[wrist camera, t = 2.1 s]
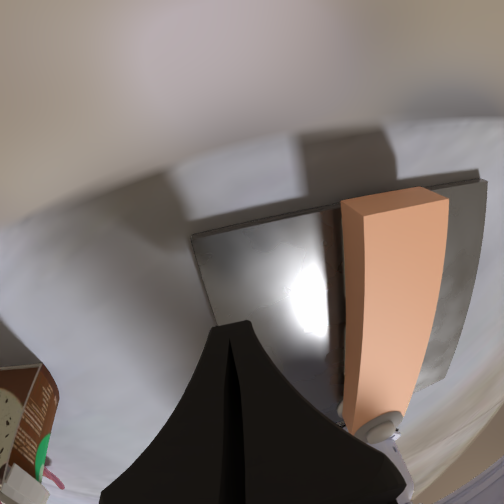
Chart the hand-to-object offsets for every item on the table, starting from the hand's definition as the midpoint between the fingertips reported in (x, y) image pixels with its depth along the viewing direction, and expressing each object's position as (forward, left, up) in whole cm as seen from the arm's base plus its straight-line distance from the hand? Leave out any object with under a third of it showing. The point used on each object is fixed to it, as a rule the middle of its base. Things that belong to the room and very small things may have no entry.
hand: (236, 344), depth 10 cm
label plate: (-9, -2, -4) cm, 10 cm away
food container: (+6, +18, -4) cm, 19 cm away
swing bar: (-8, -2, -3) cm, 9 cm away
